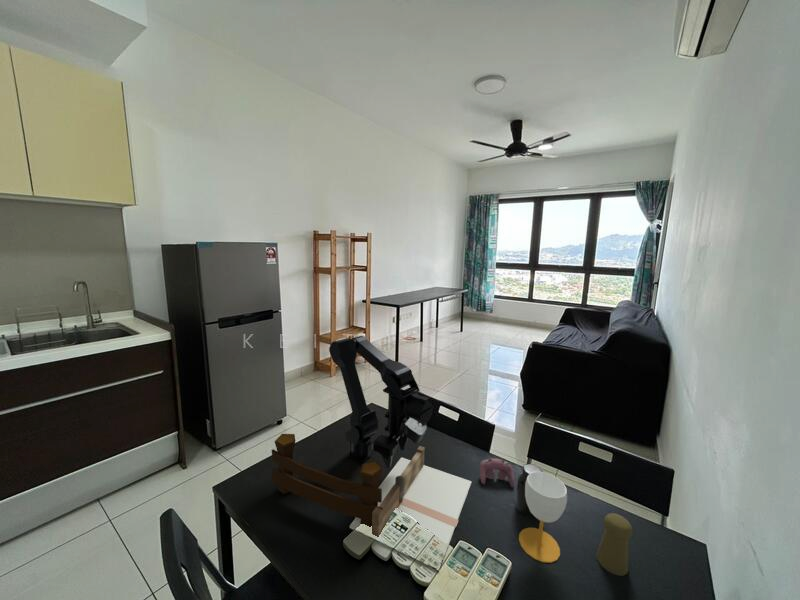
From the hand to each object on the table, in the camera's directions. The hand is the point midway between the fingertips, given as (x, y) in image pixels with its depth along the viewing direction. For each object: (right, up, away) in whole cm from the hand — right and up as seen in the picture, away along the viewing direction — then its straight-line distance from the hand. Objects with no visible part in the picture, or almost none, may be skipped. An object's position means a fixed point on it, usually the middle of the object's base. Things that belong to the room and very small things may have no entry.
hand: (395, 458), depth 95 cm
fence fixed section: (-2, -8, -14) cm, 16 cm away
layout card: (+6, -8, -9) cm, 13 cm away
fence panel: (+5, -6, -1) cm, 7 cm away
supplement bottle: (+36, -9, -9) cm, 38 cm away
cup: (+34, -11, -20) cm, 41 cm away
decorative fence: (-18, -7, -10) cm, 22 cm away
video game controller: (+30, -8, +1) cm, 31 cm away
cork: (+49, -12, -23) cm, 55 cm away
